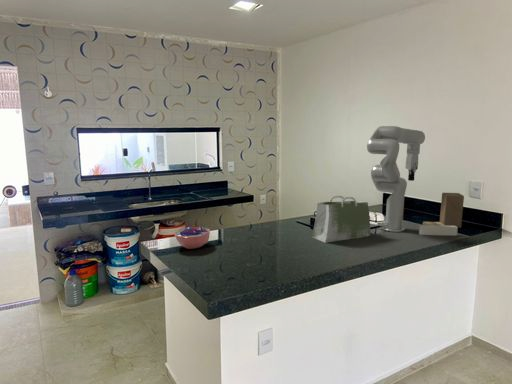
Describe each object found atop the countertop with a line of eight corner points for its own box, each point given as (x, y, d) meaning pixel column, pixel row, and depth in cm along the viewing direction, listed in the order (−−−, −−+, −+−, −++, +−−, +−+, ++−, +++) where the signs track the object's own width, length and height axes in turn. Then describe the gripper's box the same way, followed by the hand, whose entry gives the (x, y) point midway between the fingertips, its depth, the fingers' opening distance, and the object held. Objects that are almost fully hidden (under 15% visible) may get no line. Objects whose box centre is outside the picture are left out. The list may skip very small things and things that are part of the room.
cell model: (218, 244, 198) (218, 223, 196) (193, 255, 181) (193, 232, 179) (193, 239, 207) (192, 219, 205) (167, 249, 190) (166, 227, 188)
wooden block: (461, 228, 231) (464, 195, 228) (443, 227, 233) (446, 195, 230) (456, 224, 241) (459, 193, 238) (439, 223, 243) (441, 192, 240)
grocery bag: (354, 230, 227) (356, 191, 223) (371, 235, 215) (373, 195, 211) (310, 236, 213) (311, 196, 209) (325, 243, 200) (327, 200, 196)
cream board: (420, 234, 216) (421, 226, 215) (418, 233, 219) (419, 225, 218) (456, 235, 215) (457, 227, 214) (454, 234, 218) (455, 225, 217)
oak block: (427, 233, 220) (428, 225, 219) (422, 229, 229) (422, 221, 228) (445, 234, 219) (446, 225, 218) (439, 230, 228) (440, 222, 227)
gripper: (403, 150, 247) (401, 178, 250) (411, 152, 232) (408, 182, 235) (415, 150, 246) (413, 178, 249) (423, 152, 231) (421, 182, 234)
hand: (411, 180), depth 242 cm, fingers closed
